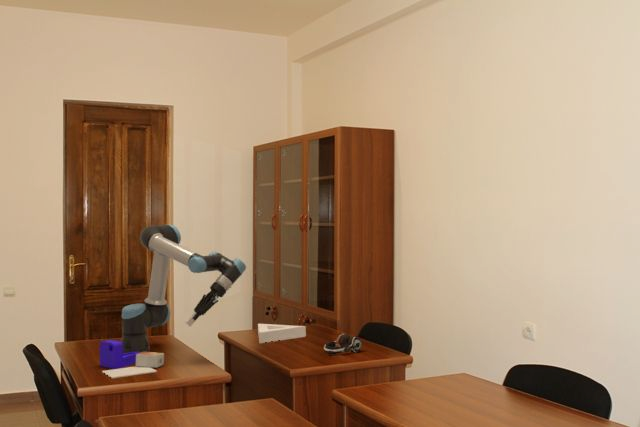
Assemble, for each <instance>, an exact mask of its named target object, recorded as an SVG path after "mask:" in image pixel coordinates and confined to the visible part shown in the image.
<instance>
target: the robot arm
mask: <svg viewBox="0 0 640 427" xmlns="http://www.w3.org/2000/svg"><path fill="white" fill-rule="evenodd" d="M181 237H182V236H181V233H180V230H179V229H178V227H176V226H175V225H173V224H167V223H166V224H156V225H155V224H153V225H152V224H151V225H148V226H145V227H144V228H143V229H142V230H141V232H140V234H139V241H140V244H141V245H142V246H143V247H144V248H145V249H147V250H149V251H151V252H152V253H153V258H152V265H151V273H150V281H149V287H148V296H147V297H146V298H145V299H144V302H143V303H132V304H129V305H126V306H124V307H122V309H121V330H122V332H121V336H122V337H121V339H120V340H121V341H120V342H121V343H122V345H123V353H130V352H140V353H141V352H151V351H150V349H151V348H150V347H151V346H150V343H149V340H148V337H147V329H150V328H154V327H160V326H164V325H165V324H166V323H168V321H169V319H170V316H171V310H170V307H169V305H168V301H167V300H166V292H167V284H168V278H169V270H170V263H171V259H172V260H174V261H176V262H178V263H180V264H182V265H185V266H186V267H188V270H189V271H190V272H191V273H194V274H201V273H207V272H216V271H218V272H220V274H219V276H218V277H217V278H216V279H215V281H214V282H213V283H212V284H211V285H210V286H209V289H210V291H209V292H208V293H206V294H203V295H202V298H201V299H200V300H199V301H198V303H197V305H196V306H195V307H194V308H193V312H192V314H191V316H190V317H189V318H188V319H187V320H186V321H185V323H184V324H186V325H188V326H189V327H192V326H193V325H194V323H195V322H196V321H197V320H198V319H199V318H200V317H201V316H204V315H206V314H207V312H208V311H210V309H211V308H212V307H213V306H215V304H217V303H219V300H218V298H223V297H224V296H225V294H227V291H229V290H230V289H231V288H232V286H233V285H234V284H235V282H236V281H237V280H238V279H239V278H240V277H242V275H243V274H244V272H245V271H246V269H247V265H246V264H245V262H244V261H242V260H241V259H240V258H238V257H235V258H234V259H233V260H232V259H230V258H228V257H226V256H225V255H223V254H222V253H220V252H217V251H211V252H210V253H208V255H201V254H200V253H198V252H195V251H193V250H191V249H189V248H187V247H184V246H183V245H180V243H181V241H182V240H181V239H182V238H181Z"/></svg>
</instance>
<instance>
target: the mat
mask: <svg viewBox="0 0 640 427" xmlns="http://www.w3.org/2000/svg"><path fill="white" fill-rule="evenodd" d="M101 372H102V374H104V373H105V374H104V375H106V376H107V375H108V376H107V377H109V378H110V377H111V379H119V378H126V377H132V376H138V375H145V374H146V375H147V374H152V373H158V371H157V370H156V369H155V368H153V367H141V366H136V365H135V366H129V367H128V366H126V367H122V368H118V369H108V370H102V371H101Z"/></svg>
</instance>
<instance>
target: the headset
mask: <svg viewBox="0 0 640 427" xmlns="http://www.w3.org/2000/svg"><path fill="white" fill-rule="evenodd" d="M337 342H338V343H337ZM362 348H363V340H362V339H361V338H360V337H359V336H351V334H348V333H342V334H340V335H339V336H338V338H337V339H336V340H335V341H334V340H330V341H329V342H327V343H325V344H324V346H323V349H324V351H326V353H327V354H328V355H329V356H331V355H334V354H335V355H337V354H342V353H345V352H346V353H349V352H350V351H351V352H353V353H358V352H359V351H361V349H362Z"/></svg>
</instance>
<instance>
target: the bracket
mask: <svg viewBox="0 0 640 427" xmlns="http://www.w3.org/2000/svg"><path fill="white" fill-rule="evenodd" d="M138 353H140V352H130V353H123V345H122V343H121V341H119V340H114V339H109V340H103V341H100V343H99V366H100V367H102V366H104V367H103V368H106V367H107V369H111V368H112V369H111V370H113V369H120V368H126V367H128V366H131V365H133V364H136V354H138Z"/></svg>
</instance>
